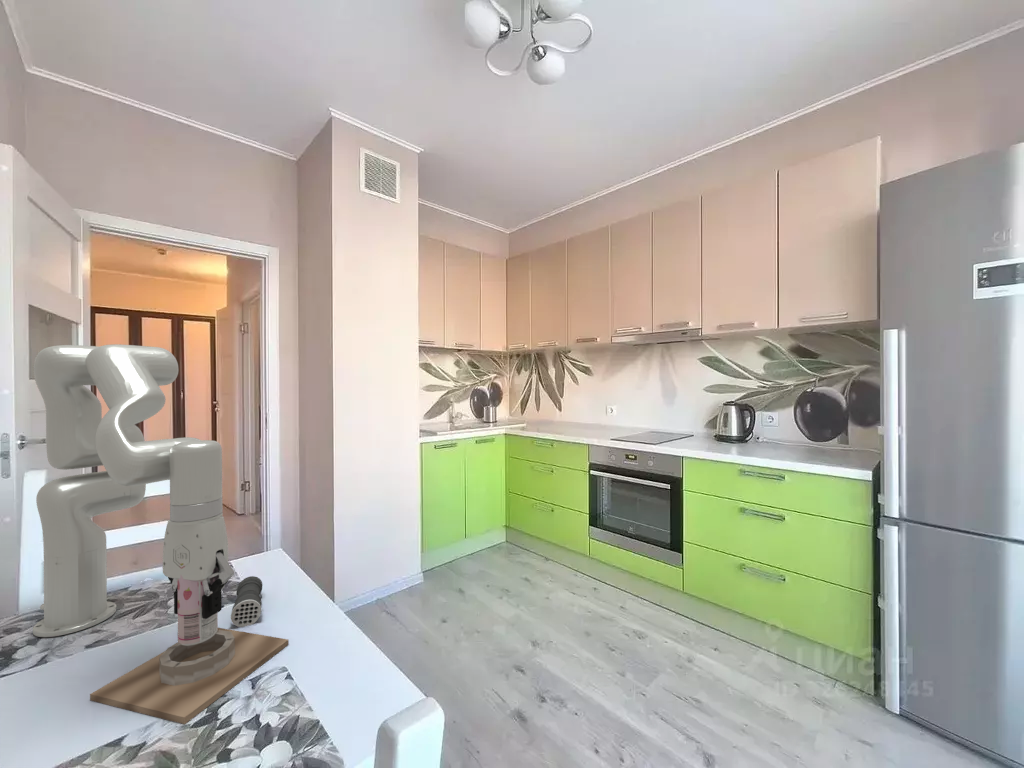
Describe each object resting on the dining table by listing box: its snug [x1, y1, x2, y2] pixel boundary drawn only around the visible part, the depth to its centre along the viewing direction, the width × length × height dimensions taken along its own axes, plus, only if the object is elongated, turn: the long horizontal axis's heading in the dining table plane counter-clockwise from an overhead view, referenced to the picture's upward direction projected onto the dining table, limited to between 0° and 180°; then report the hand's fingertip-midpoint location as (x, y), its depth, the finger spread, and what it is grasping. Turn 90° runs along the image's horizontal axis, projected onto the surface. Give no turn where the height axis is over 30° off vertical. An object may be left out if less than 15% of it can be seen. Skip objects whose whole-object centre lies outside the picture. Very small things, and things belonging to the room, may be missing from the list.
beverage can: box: [177, 563, 219, 646], centre depth 75 cm, size 6×6×15 cm
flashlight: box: [230, 575, 263, 628], centre depth 96 cm, size 15×5×5 cm, turn 29°
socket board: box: [89, 627, 290, 725], centre depth 75 cm, size 20×20×4 cm
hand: (198, 611), depth 75 cm, fingers closed on beverage can, 5 cm apart
